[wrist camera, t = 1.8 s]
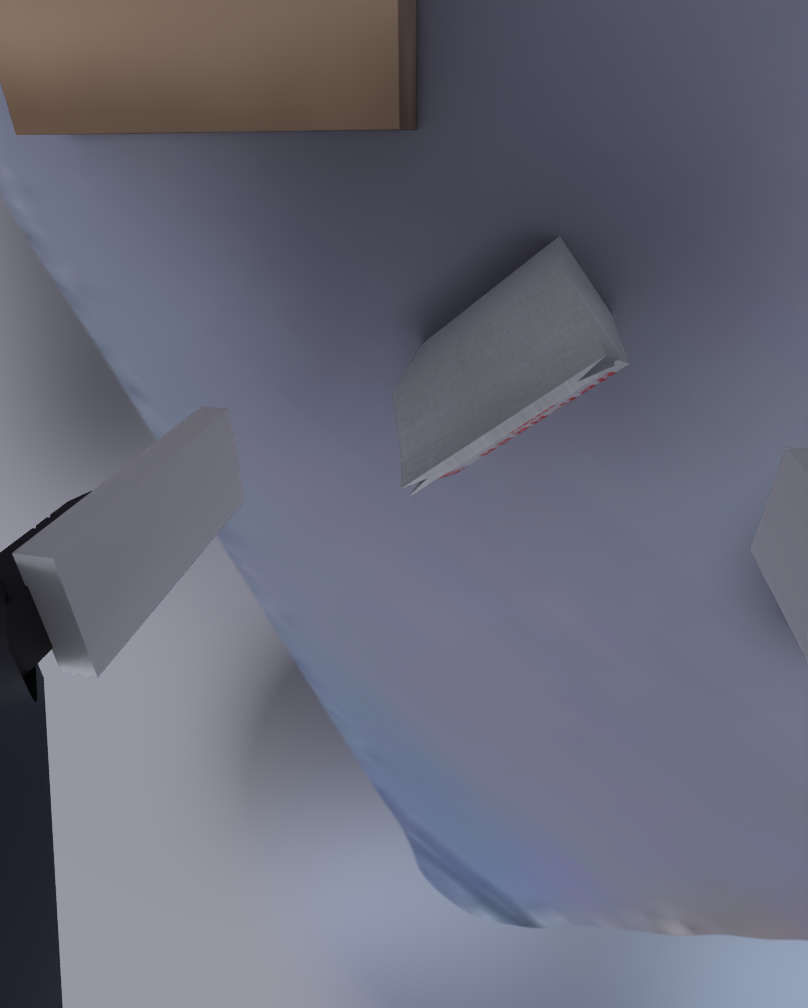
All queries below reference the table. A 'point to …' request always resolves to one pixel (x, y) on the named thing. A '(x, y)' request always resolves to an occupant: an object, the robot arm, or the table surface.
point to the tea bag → (504, 366)
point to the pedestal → (208, 65)
